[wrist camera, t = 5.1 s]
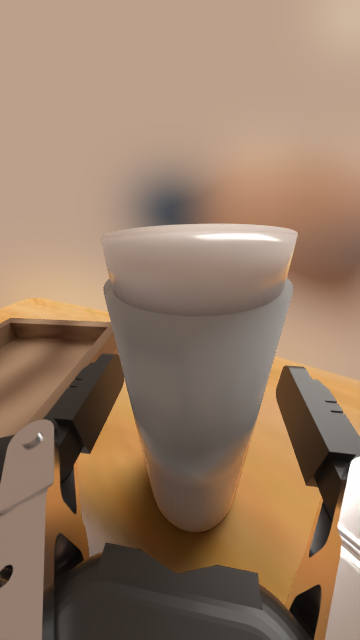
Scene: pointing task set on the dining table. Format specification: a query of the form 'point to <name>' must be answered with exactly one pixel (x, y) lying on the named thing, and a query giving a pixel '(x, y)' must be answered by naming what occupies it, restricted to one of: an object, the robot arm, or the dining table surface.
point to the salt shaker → (197, 351)
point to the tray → (44, 364)
